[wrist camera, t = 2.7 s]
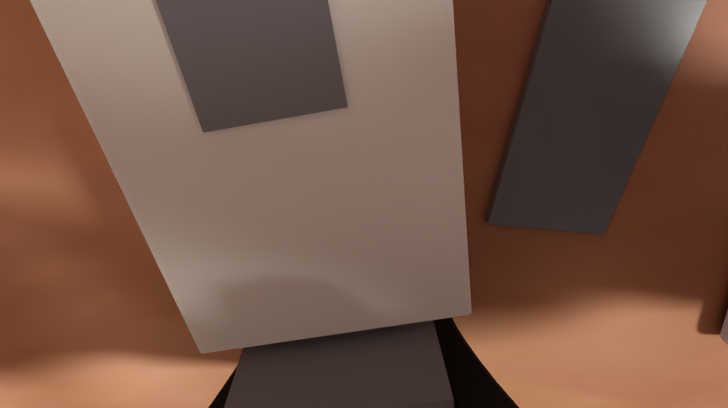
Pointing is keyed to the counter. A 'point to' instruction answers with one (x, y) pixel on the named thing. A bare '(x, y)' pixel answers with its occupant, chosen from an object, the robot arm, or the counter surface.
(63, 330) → the counter surface
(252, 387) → the charger
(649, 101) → the plate
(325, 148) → the power strip
